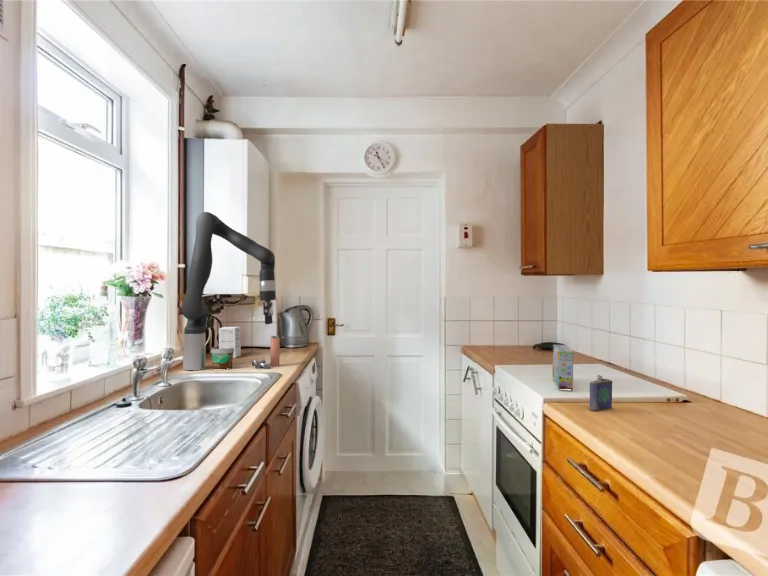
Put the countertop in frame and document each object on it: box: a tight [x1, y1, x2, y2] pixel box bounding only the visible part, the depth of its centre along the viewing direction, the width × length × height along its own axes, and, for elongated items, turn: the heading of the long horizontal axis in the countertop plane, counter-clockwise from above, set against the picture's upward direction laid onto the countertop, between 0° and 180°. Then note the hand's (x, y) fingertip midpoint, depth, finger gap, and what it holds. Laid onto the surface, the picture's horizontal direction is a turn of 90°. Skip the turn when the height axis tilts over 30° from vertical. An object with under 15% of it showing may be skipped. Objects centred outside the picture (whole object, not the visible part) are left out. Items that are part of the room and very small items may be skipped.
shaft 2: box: [254, 362, 271, 370], centre depth 200 cm, size 7×3×3 cm, turn 81°
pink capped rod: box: [269, 335, 281, 368], centre depth 205 cm, size 4×4×15 cm
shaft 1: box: [251, 358, 266, 367], centre depth 207 cm, size 7×3×3 cm, turn 156°
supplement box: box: [218, 326, 242, 359], centre depth 233 cm, size 10×9×17 cm
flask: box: [589, 374, 613, 412], centre depth 131 cm, size 9×3×11 cm, turn 115°
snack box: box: [552, 344, 575, 390], centre depth 164 cm, size 21×6×15 cm, turn 164°
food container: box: [209, 346, 234, 370], centre depth 198 cm, size 12×6×10 cm, turn 73°
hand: (268, 323), depth 198 cm, fingers open, 8 cm apart
